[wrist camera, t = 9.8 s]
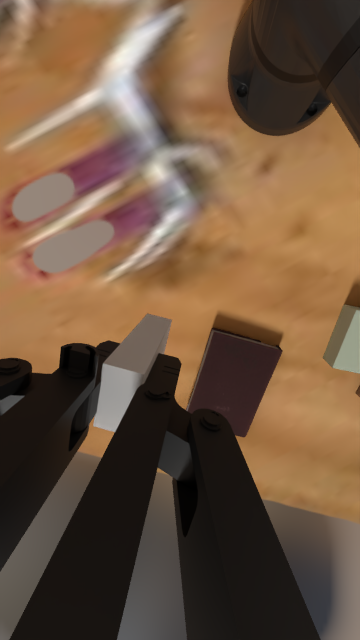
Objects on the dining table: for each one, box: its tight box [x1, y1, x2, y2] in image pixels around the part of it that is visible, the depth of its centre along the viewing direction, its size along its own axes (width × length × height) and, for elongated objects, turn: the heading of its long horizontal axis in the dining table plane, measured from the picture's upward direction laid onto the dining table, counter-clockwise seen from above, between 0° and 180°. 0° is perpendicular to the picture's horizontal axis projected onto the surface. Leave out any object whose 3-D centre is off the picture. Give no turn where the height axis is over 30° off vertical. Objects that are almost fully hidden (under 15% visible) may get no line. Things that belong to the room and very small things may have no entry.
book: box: [186, 328, 282, 437], centre depth 47 cm, size 12×19×3 cm, turn 165°
